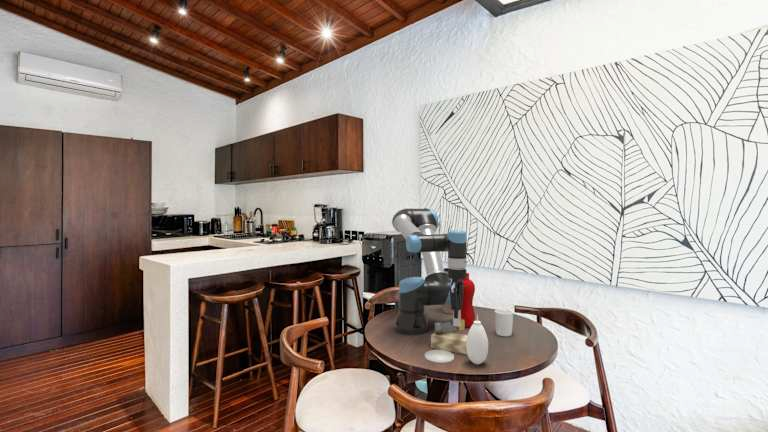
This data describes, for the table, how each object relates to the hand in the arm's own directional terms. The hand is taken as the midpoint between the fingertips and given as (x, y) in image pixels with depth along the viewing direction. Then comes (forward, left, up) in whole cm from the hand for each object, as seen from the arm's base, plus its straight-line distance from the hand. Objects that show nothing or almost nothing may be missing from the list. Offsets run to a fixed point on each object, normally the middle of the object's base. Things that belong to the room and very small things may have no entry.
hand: (456, 325), depth 152 cm
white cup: (+15, +22, -8) cm, 28 cm away
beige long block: (+2, -4, -8) cm, 9 cm away
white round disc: (-2, -15, -8) cm, 17 cm away
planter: (-16, +44, -8) cm, 48 cm away
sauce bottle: (+12, -14, -8) cm, 20 cm away
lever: (-3, 0, -3) cm, 4 cm away
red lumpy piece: (-4, +27, -8) cm, 29 cm away
